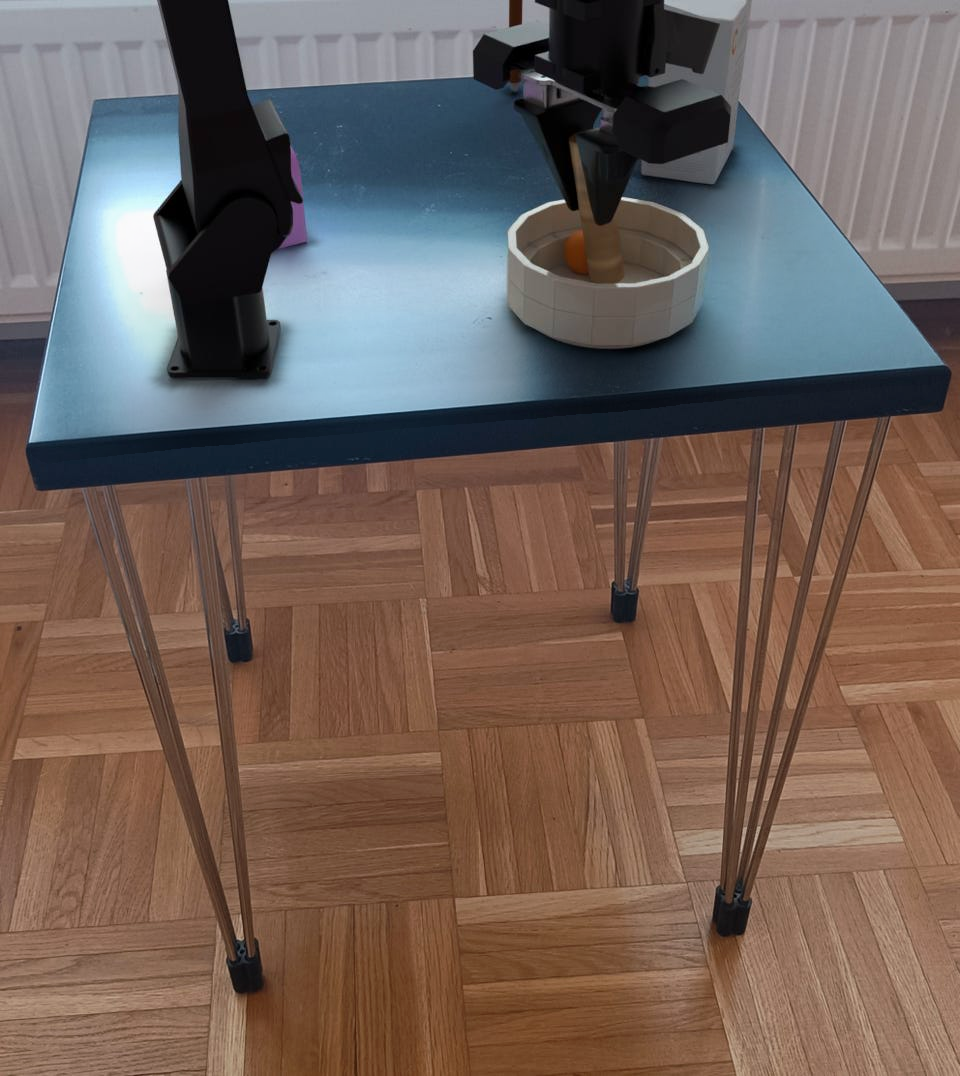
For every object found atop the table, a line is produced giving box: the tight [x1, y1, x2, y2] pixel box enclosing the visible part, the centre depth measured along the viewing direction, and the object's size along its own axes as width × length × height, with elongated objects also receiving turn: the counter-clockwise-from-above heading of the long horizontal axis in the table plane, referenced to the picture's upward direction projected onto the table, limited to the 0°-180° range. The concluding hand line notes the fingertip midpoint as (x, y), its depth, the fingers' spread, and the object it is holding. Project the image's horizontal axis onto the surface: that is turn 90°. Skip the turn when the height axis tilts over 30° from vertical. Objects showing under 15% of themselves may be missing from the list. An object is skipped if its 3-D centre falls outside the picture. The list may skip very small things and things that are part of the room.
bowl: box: [506, 196, 710, 350], centre depth 84 cm, size 13×13×5 cm
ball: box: [564, 230, 589, 274], centre depth 87 cm, size 3×3×3 cm
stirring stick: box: [569, 130, 625, 284], centre depth 83 cm, size 2×2×10 cm
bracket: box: [277, 144, 308, 250], centre depth 94 cm, size 13×6×7 cm, turn 30°
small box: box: [640, 0, 753, 185], centre depth 100 cm, size 8×6×13 cm
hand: (590, 216), depth 83 cm, fingers closed on stirring stick, 2 cm apart
